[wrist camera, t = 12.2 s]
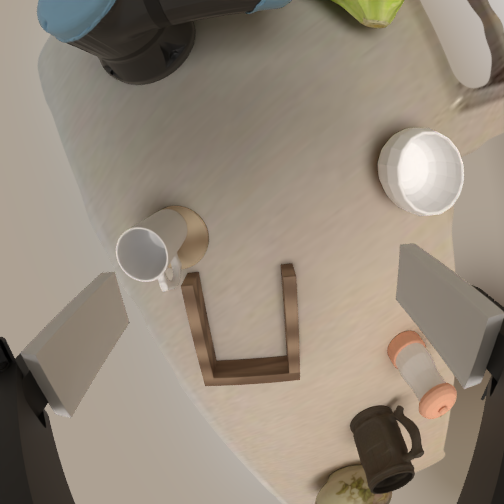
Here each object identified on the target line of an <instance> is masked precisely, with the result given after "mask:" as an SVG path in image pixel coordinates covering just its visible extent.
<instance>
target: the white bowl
mask: <svg viewBox="0 0 504 504" xmlns="http://www.w3.org/2000/svg"><path fill="white" fill-rule="evenodd" d="M378 175H379V180H380V182H381V184H382V186H383V189H384V191H385V193H386V194H387V196H388V197H389V198H390V199H391V200H392V201H393V202H394V203H395V204H396V205H397V206H398V207H399V208H401V209H403V210H405V211H408V212H410V213H413V214H416V215H418V216H429V215H438V214H441V213H443V212H445V211H446V210H448V209H449V208H451V207H452V206H453V204H454V203H455V201H456V200H457V198H458V197H459V196H460V193H461V189H462V186H463V182H464V166H463V162H462V159H461V156H460V153H459V151H458V149H457V148H456V146H455V145H454V144H453V143H452V141H451V140H450V139H449V138H448V137H446V136H444V135H442V134H441V133H439V132H437V131H435V130H433V129H431V128H406V129H404V130H402V131H400V132H398V133H396V134H394V135H393V136H392V137H391V138H390V139H389V140H388V141H387V143H386V144H385V145H384V147H383V148H382V149H381V153H380V156H379V160H378Z"/></svg>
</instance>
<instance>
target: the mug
mask: <svg viewBox="0 0 504 504" xmlns="http://www.w3.org/2000/svg"><path fill="white" fill-rule="evenodd" d="M186 236H187V224H186V221H185V219H184V218H183V217H182V216H181V215H180V214H179V213H178V212H176V211H174V210H171V209H163V210H160V211H158V212H156V213H154V214H153V215H151V216H149V217H148V218H146V219H144V220H143V221H141V222H139V223H138V224H136V225H134V226H133V227H131V228H130V229H128V230H126V231H125V232H124V233H123V234H122V235H121V236H120V237H119V239H118V242H117V245H116V257H117V260H118V263H119V265H120V267H121V268H122V270H123V271H124V272H125V273H126V274H127V275H128V276H130V277H131V278H133V279H135V280H138V281H142V282H150V281H154V280H156V279H157V280H158V281H159V286H160V288H161V290H162V291H163V292H165V291H167V290H172V289H175V288H176V287H177V286H178V284H179V281H180V276H181V267H182V264H181V261H180V259H179V257H178V255H177V252H178V250H179V249H180V247H181V246H182V244H183V242H184V241H185V239H186ZM170 263H171V266H172V270H173V279H172V281H170V280H168V278H167V276H166V274H165V270H166V269H167V267H168V266H169V264H170Z"/></svg>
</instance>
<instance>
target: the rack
mask: <svg viewBox="0 0 504 504" xmlns="http://www.w3.org/2000/svg"><path fill="white" fill-rule="evenodd" d="M281 274H282V287H283V301H284V316H285V331H286V348H287V356H279V357H268V358H256V359H241V360H223V361H216V356H215V352H214V347H213V342H212V338H211V333H210V328H209V323H208V318H207V313H206V308H205V303H204V298H203V293H202V287H201V282H200V277H199V272H194V273H188V274H187V276H186V278H185V279H184V281H183V283H182V285H181V289H182V294H183V298H184V303H185V307H186V312H187V316H188V320H189V324H190V329H191V333H192V337H193V341H194V345H195V349H196V353H197V357H198V361H199V364H200V368H201V372H202V376H203V379H204V383H205V386H221V385H243V384H259V383H272V382H283V381H293V380H300V359H299V328H298V304H297V284H296V274H295V271H294V268H293V264H282V265H281Z"/></svg>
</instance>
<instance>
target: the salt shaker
mask: <svg viewBox="0 0 504 504" xmlns="http://www.w3.org/2000/svg"><path fill="white" fill-rule="evenodd" d="M388 356H389V357H390V359H391V361H392V363H393V365H394V366H395V368H397V369H398V370H399V372H400V374H401V376H402V377H403V379H404V380H405V381H406V382H407V383H408V385H409V386H410V387H411V388H412V389H413V391H414V393H415V395H416V396H417V398H418V400H419V402H420V403H419V412H420V414H421V415H422V416H423V417H425V418H428V419H434V418H438V417H440V416H442V415H443V414H445V413H446V412H447V411H448V410H450V409H451V407H452V406H453V405H454V403H455V401H456V395H457V392H456V389H455V387H454V386H452V385H451V384H449V383H446V382H445V381H444V379H443V378H442V376H441V375H440V373H439V372H438V370H437V368H436V365H435V363H434V360H433V358H432V356H431V354H430V353H429V352H428V351H427V349H426V345H425V343H424V342H423V341H422V339H421V338H420V337H419V335H418V334H417V333H416V332H414V331H405V332H402V333H400V334H399V335H397V336H396V337H395V338H394V339H393V340H392V341H391V343H390V344H389V346H388Z"/></svg>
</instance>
